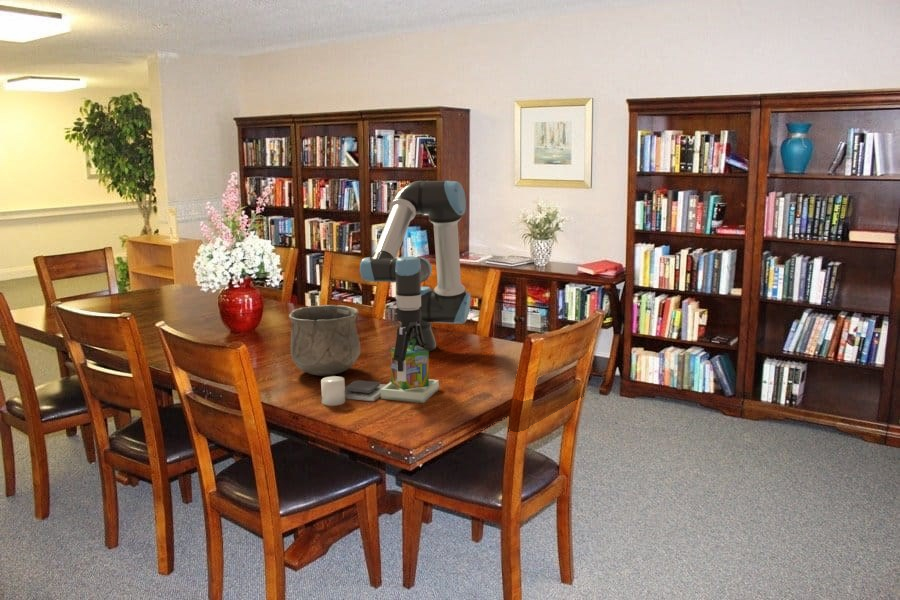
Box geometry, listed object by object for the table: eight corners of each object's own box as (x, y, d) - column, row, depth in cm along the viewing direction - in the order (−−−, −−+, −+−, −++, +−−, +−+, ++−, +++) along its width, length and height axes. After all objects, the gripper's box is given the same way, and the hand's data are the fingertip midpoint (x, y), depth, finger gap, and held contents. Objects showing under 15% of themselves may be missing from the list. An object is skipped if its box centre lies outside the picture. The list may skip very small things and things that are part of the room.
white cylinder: (328, 397, 238) (327, 375, 237) (349, 399, 236) (348, 377, 235) (317, 404, 232) (316, 382, 230) (338, 406, 230) (338, 384, 228)
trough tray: (397, 385, 250) (397, 376, 249) (438, 389, 245) (438, 380, 245) (380, 398, 237) (380, 389, 236) (423, 403, 232) (423, 393, 232)
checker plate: (356, 383, 247) (356, 380, 247) (379, 385, 244) (379, 382, 244) (345, 390, 239) (345, 387, 239) (369, 393, 237) (369, 389, 237)
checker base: (353, 384, 250) (352, 379, 250) (390, 388, 246) (390, 382, 246) (335, 397, 238) (334, 391, 238) (373, 401, 234) (373, 395, 234)
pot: (277, 371, 265) (274, 310, 261) (336, 359, 280) (334, 301, 276) (314, 388, 247) (312, 323, 242) (375, 374, 261) (374, 312, 257)
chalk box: (390, 383, 242) (389, 337, 239) (416, 378, 246) (415, 333, 243) (403, 391, 234) (402, 343, 231) (430, 386, 239) (429, 339, 236)
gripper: (411, 299, 248) (413, 362, 252) (381, 315, 225) (383, 385, 229) (433, 300, 246) (434, 364, 250) (405, 317, 223) (406, 387, 227)
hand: (409, 374), depth 240 cm, fingers open, 13 cm apart
